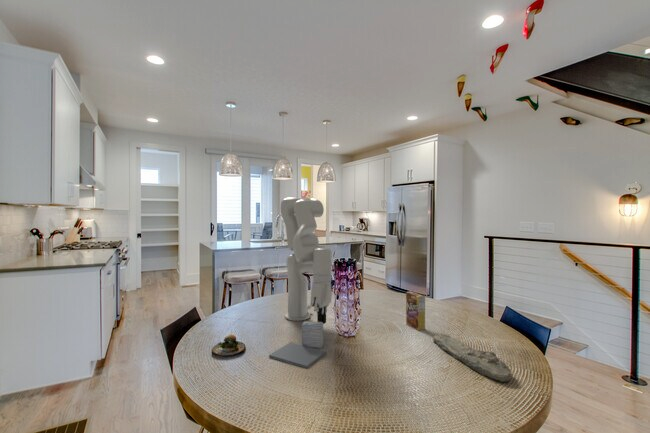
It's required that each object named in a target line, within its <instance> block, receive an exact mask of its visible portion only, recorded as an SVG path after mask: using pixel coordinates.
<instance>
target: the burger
mask: <svg viewBox="0 0 650 433" xmlns="http://www.w3.org/2000/svg"><path fill="white" fill-rule="evenodd" d="M232 331H233V329H232V328H231V330H230V332H232ZM246 349H247V348H246V345H245V343H244V342H242V341H239V340H237V337H236V335H235V334H232V333H230V334H228V335H226V336H225V337H224V339H223V342H221V341H219V342H217V344H216V345H214V346H213V347H212V349H211V354H215V355H219V356H233V355H236V354H238V353H241V352H242V354H245V352H246Z"/></svg>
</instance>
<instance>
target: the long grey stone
mask: <svg viewBox="0 0 650 433" xmlns="http://www.w3.org/2000/svg"><path fill="white" fill-rule="evenodd" d="M432 340H433V343H435V344H436V346H438V347H440V348H441V349H443V351H444V352H446V353H448V354H449V355H450V356H452V357H454V359H455V360H458V361H461V362H462V363H463V364H465V365H466V366H467V367H469V368H471V369H472V370H475V371H477V373H479V374H481V376H484V377H488V378H490V379H492V380H495V381H498V382H509V381H510V380H512V378H513V375H512V374H511V369H510V368H509V366H507V364H506V363H505V362H503V361H502V360H501V359H499V358H498V357H497V354H496V353H495V352H493V351H488V350H487V351H484V350H478V349H474V348H472V347H470V346H469V345H466V344H465V343H463V342H461V341H460V340H457V339H456V338H454V337H452V336H450V335H448V334H444V333H440V334H439V333H436V334H435V335H433V339H432Z"/></svg>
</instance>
